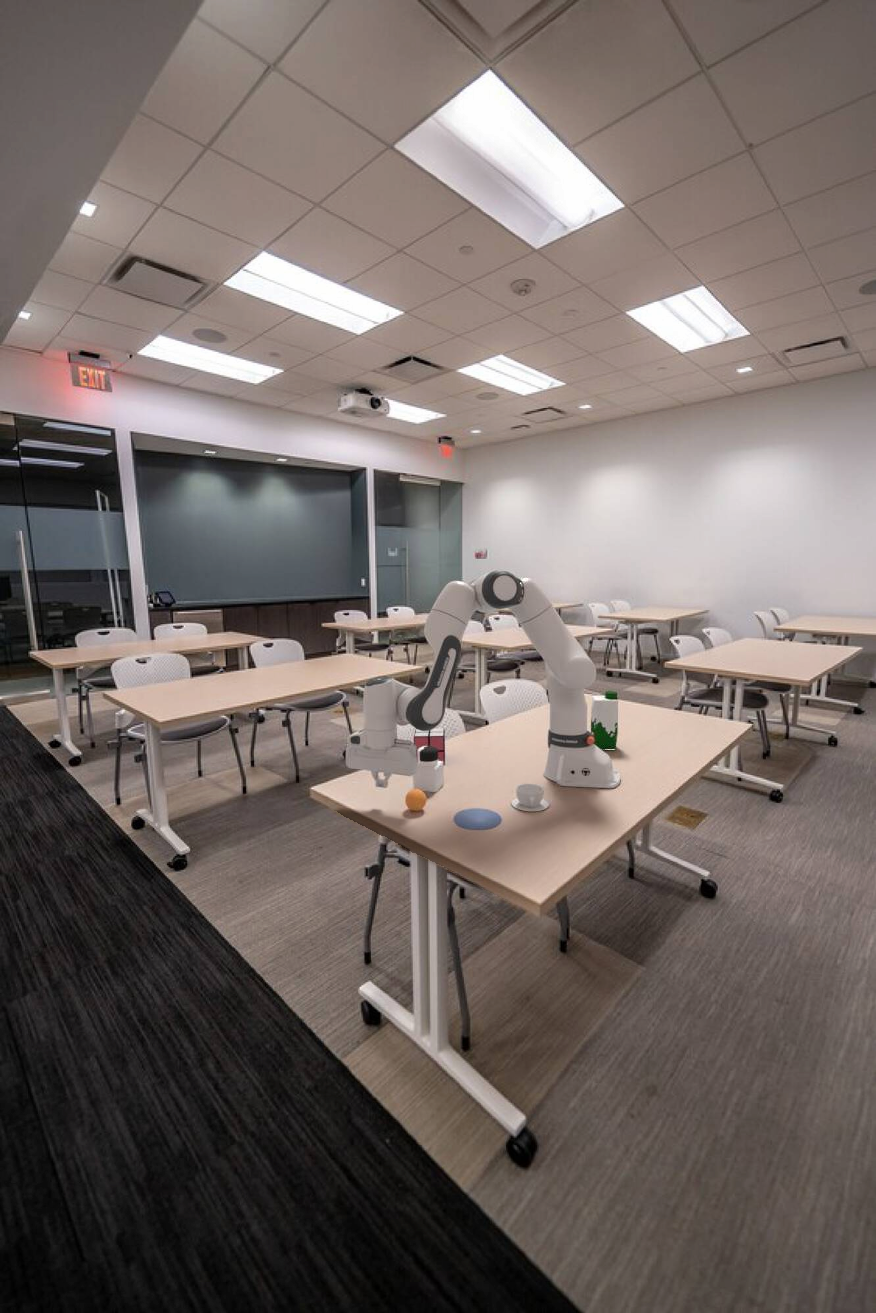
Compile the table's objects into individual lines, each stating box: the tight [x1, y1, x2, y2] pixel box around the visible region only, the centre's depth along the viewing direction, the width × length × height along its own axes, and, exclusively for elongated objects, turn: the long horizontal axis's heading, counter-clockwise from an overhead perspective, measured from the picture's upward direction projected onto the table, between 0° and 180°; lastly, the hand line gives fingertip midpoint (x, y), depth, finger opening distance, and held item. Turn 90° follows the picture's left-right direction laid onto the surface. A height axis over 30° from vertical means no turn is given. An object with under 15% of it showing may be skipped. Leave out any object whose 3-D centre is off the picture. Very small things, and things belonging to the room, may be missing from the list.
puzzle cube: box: [413, 727, 446, 766], centre depth 183 cm, size 10×10×10 cm
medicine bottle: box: [412, 746, 445, 793], centre depth 159 cm, size 7×7×12 cm
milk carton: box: [590, 690, 619, 749], centre depth 192 cm, size 9×9×20 cm
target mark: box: [453, 808, 502, 831], centre depth 138 cm, size 12×12×1 cm
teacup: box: [510, 783, 550, 812], centre depth 146 cm, size 10×10×5 cm
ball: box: [405, 789, 427, 812], centre depth 144 cm, size 6×6×6 cm
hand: (381, 786), depth 147 cm, fingers closed
